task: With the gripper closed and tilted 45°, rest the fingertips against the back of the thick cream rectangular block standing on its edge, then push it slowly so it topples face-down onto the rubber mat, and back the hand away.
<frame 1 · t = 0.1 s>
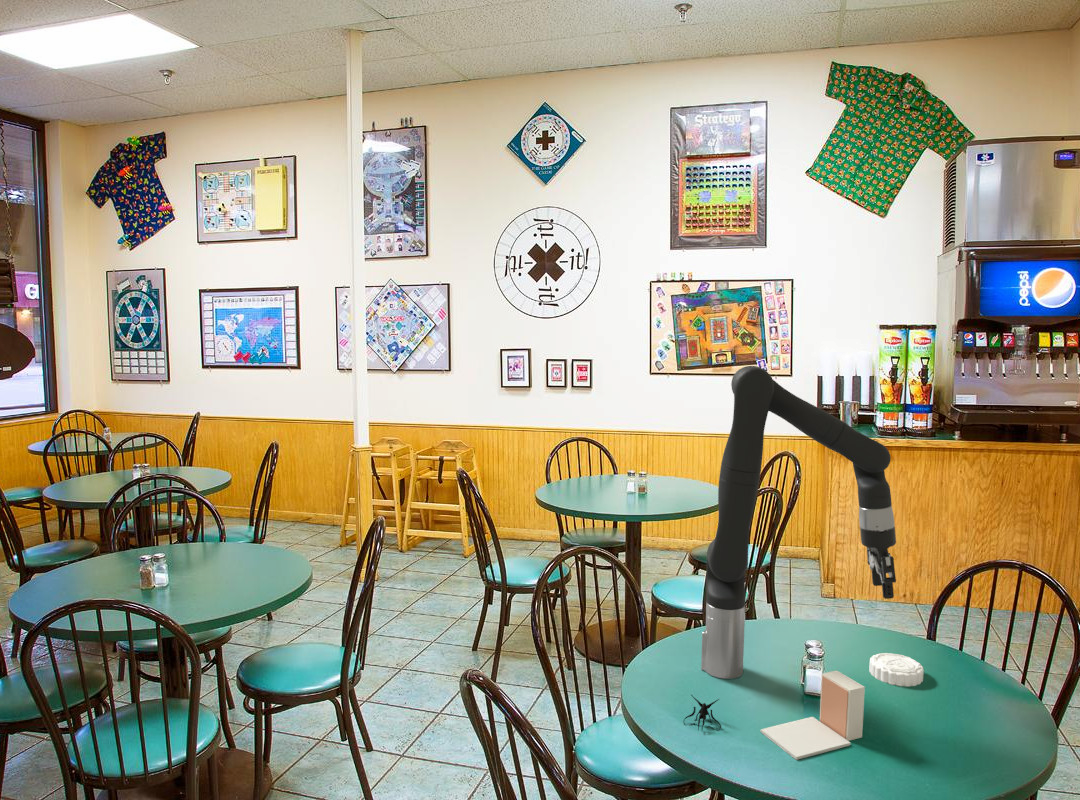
hand: (883, 591, 182), 22 cm above the table, tool pointing down, fingers open, 8 cm apart
mooncake: (895, 676, 189), on the table
cream rectangular block: (840, 729, 164), on the table
creature: (702, 725, 166), on the table
mat: (804, 738, 160), on the table
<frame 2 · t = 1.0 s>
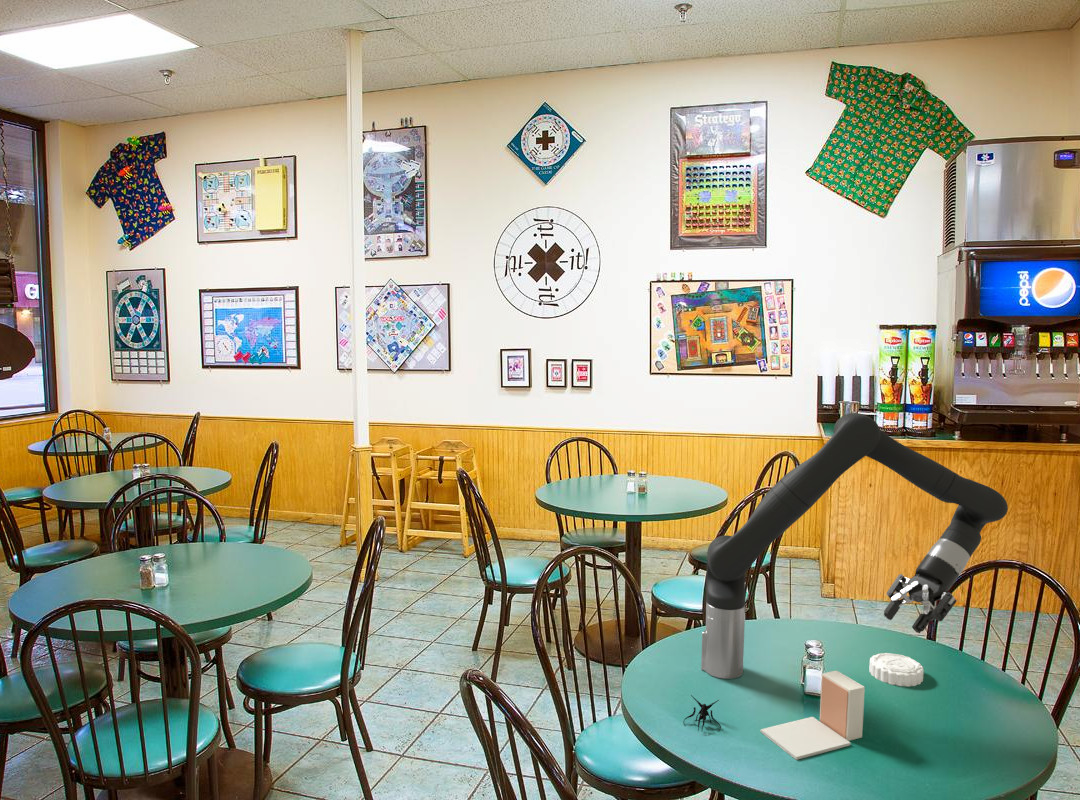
hand: (901, 623, 167), 21 cm above the table, tool tilted 45°, fingers open, 7 cm apart
nothing on the table moved.
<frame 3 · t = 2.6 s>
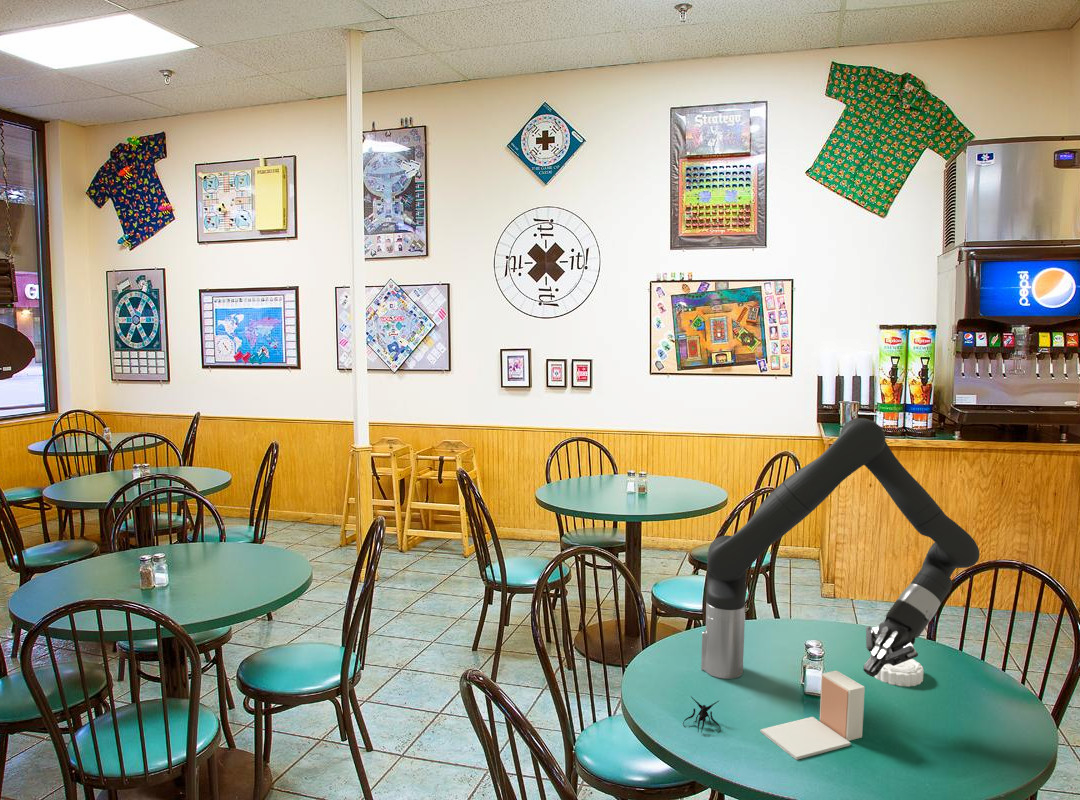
hand: (868, 673, 165), 11 cm above the table, tool tilted 45°, fingers closed
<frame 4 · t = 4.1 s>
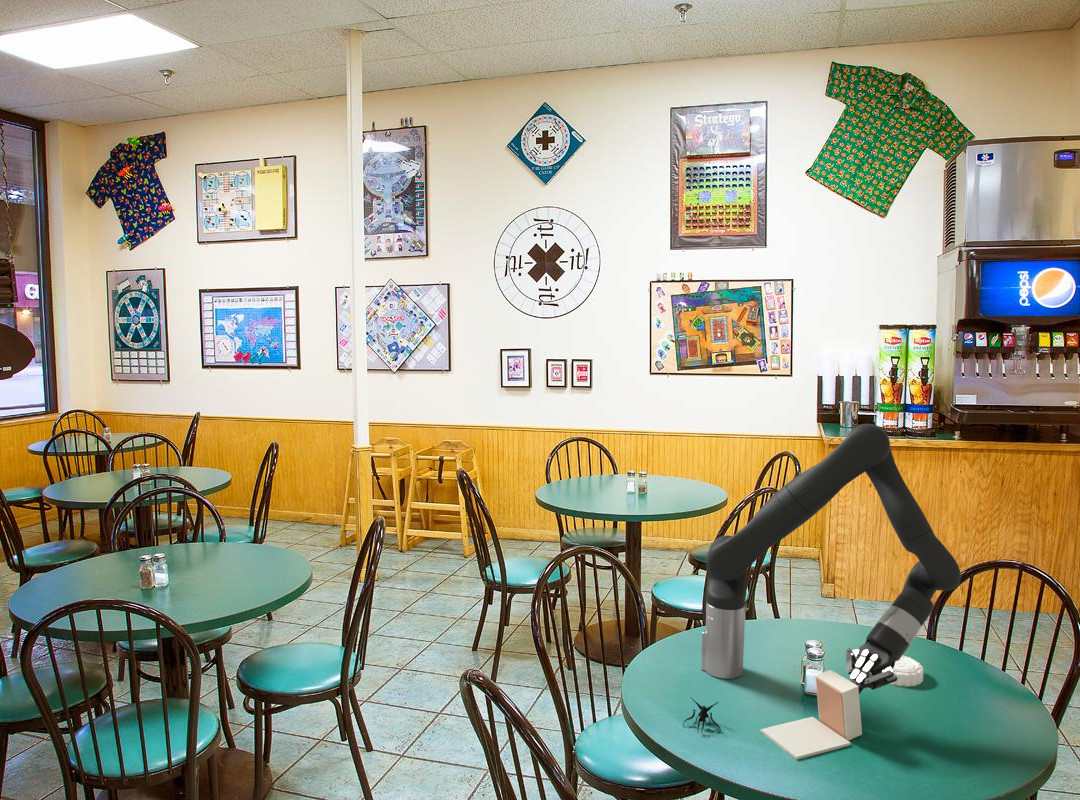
hand: (847, 697, 164), 7 cm above the table, tool tilted 45°, fingers closed
cream rectangular block: (840, 728, 164), on the table, tilted 9°, touching gripper
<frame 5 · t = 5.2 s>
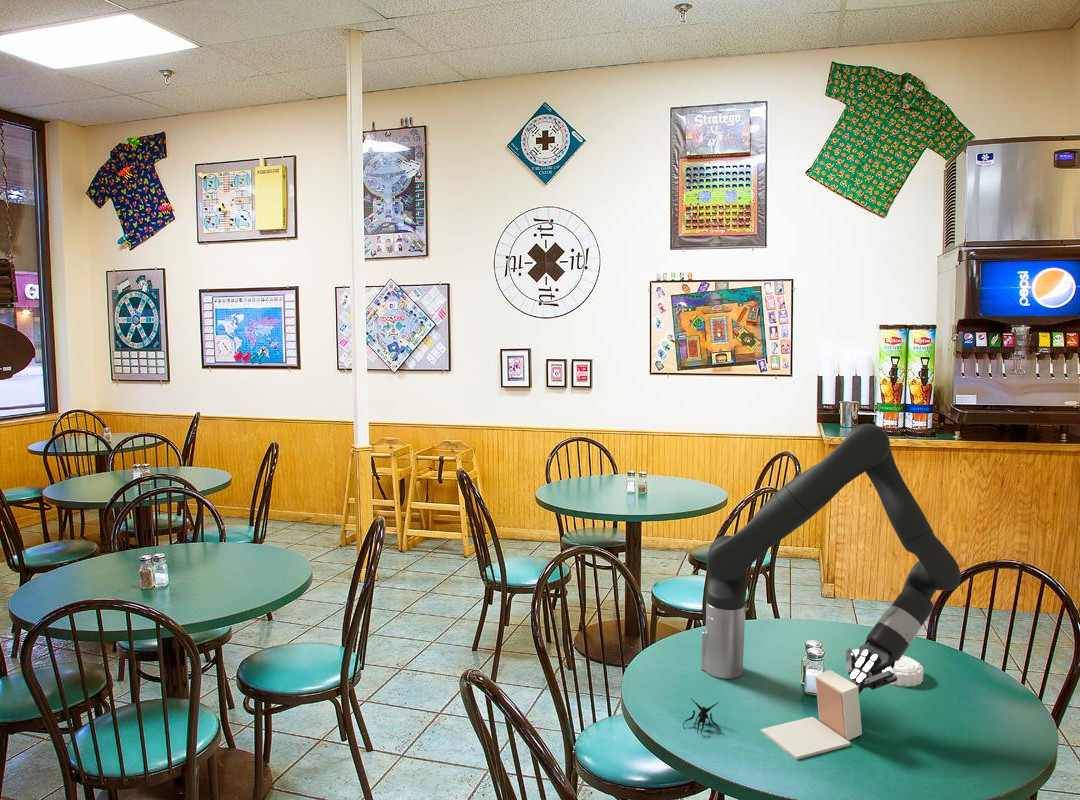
hand: (847, 697, 164), 7 cm above the table, tool tilted 45°, fingers closed
cream rectangular block: (840, 728, 164), on the table, tilted 9°
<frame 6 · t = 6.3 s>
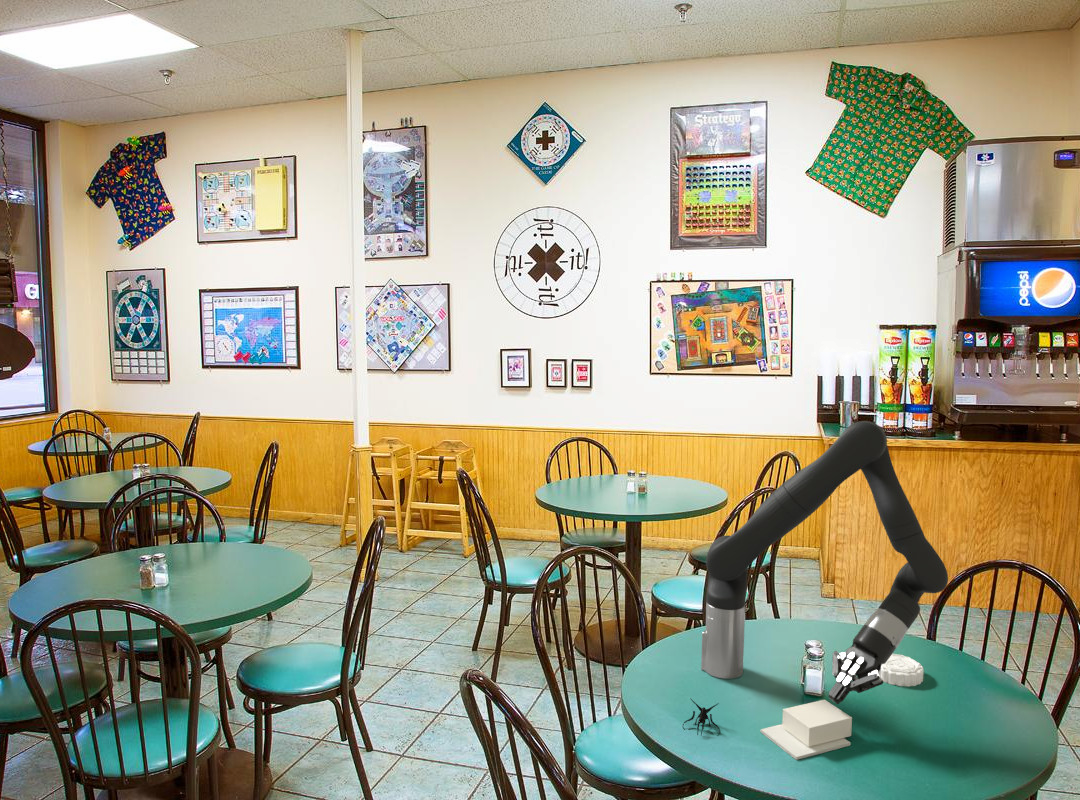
hand: (833, 700, 162), 7 cm above the table, tool tilted 45°, fingers closed
cream rectangular block: (837, 717, 163), point 3 cm above the table, tilted 90°, touching mat
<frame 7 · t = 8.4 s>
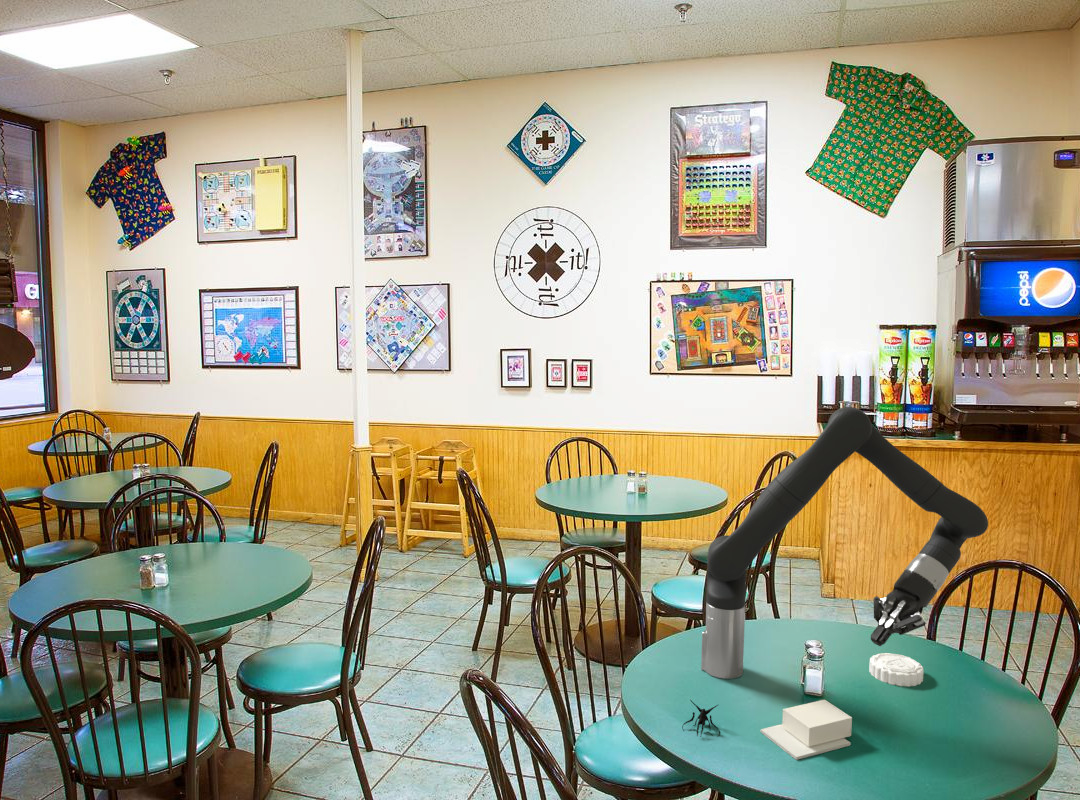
hand: (875, 642, 165), 18 cm above the table, tool tilted 45°, fingers closed
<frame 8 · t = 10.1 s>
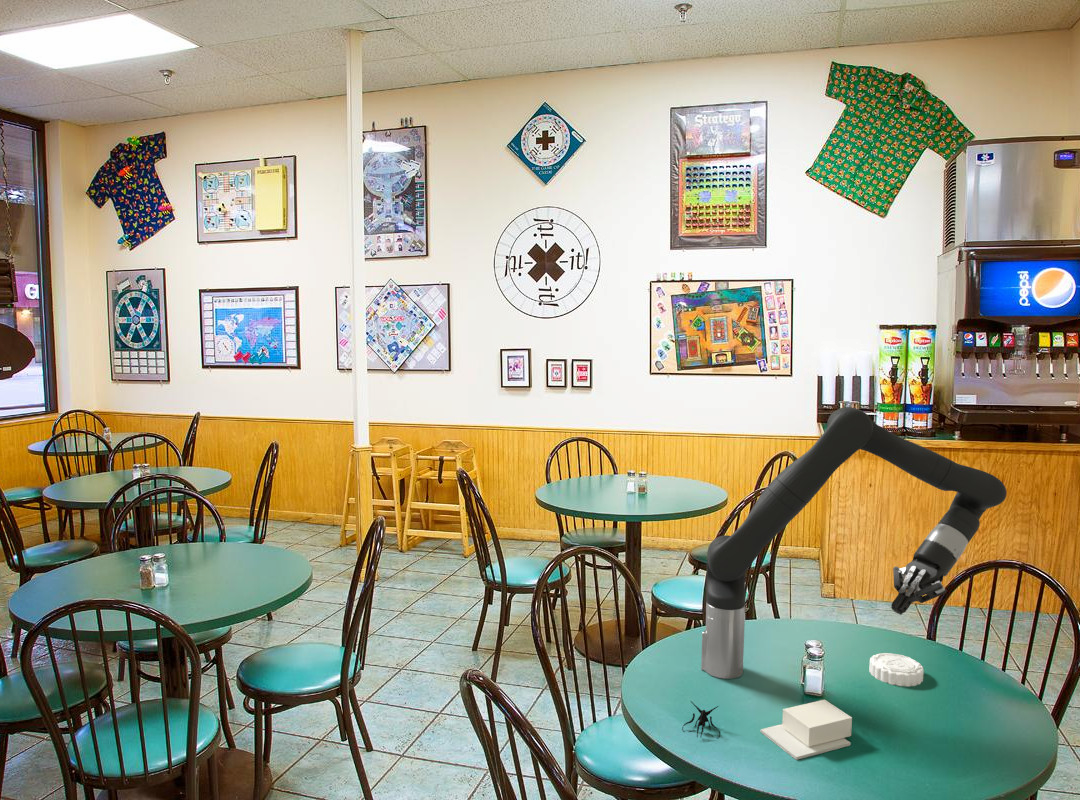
hand: (896, 611, 166), 24 cm above the table, tool tilted 45°, fingers closed
at the end: cream rectangular block tilted 90°; cream rectangular block touching mat; cream rectangular block inside the target area (0.3 cm from its centre), point 2.8 cm above the table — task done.
